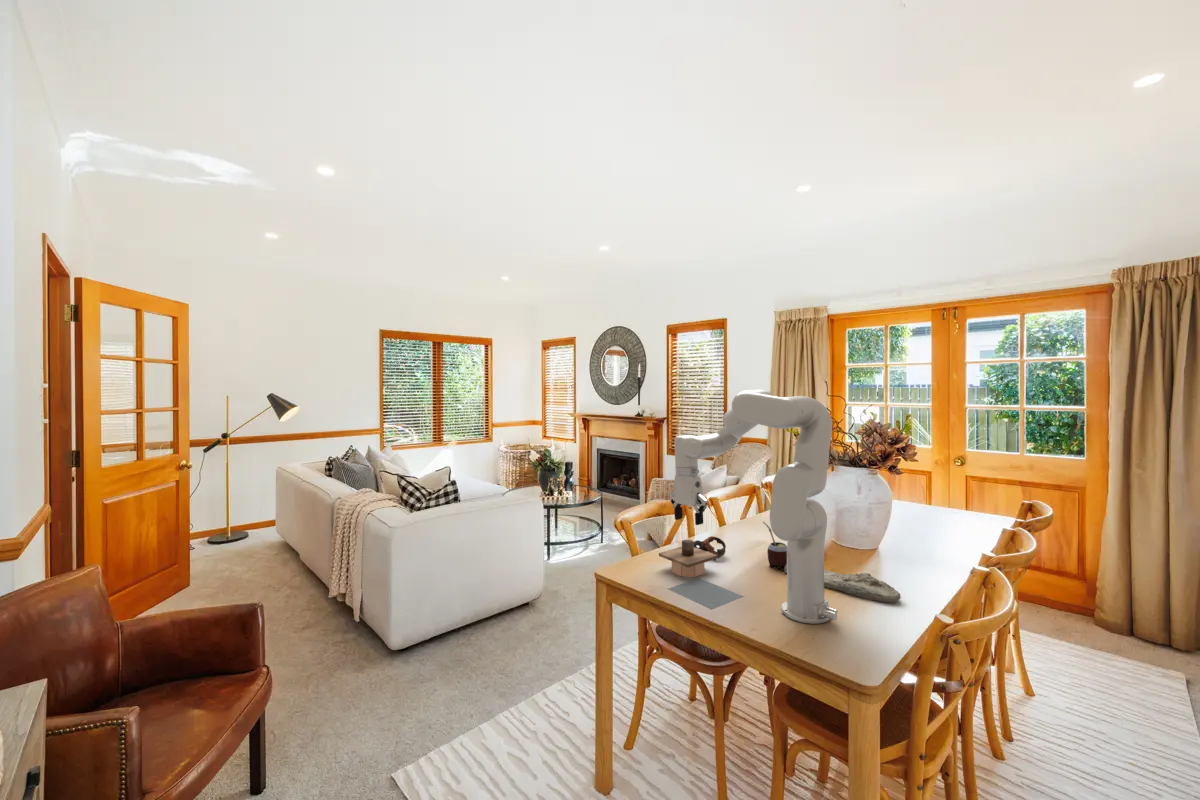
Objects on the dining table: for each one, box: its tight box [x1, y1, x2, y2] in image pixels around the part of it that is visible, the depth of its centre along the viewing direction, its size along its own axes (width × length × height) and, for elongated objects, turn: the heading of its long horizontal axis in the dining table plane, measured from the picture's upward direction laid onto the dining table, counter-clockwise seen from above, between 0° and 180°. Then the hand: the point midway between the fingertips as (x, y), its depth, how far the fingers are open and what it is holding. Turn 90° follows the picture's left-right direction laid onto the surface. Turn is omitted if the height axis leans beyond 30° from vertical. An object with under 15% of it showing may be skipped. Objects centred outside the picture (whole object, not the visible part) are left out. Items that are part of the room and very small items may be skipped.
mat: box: [667, 577, 744, 610], centre depth 151 cm, size 18×14×1 cm
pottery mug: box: [693, 535, 727, 561], centre depth 183 cm, size 12×10×8 cm
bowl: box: [671, 561, 705, 578], centre depth 169 cm, size 11×11×5 cm
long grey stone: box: [783, 564, 902, 604], centre depth 155 cm, size 35×5×10 cm
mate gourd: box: [762, 521, 787, 571], centre depth 172 cm, size 8×8×15 cm
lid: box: [658, 539, 719, 568], centre depth 169 cm, size 14×14×5 cm
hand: (688, 521), depth 168 cm, fingers open, 9 cm apart
